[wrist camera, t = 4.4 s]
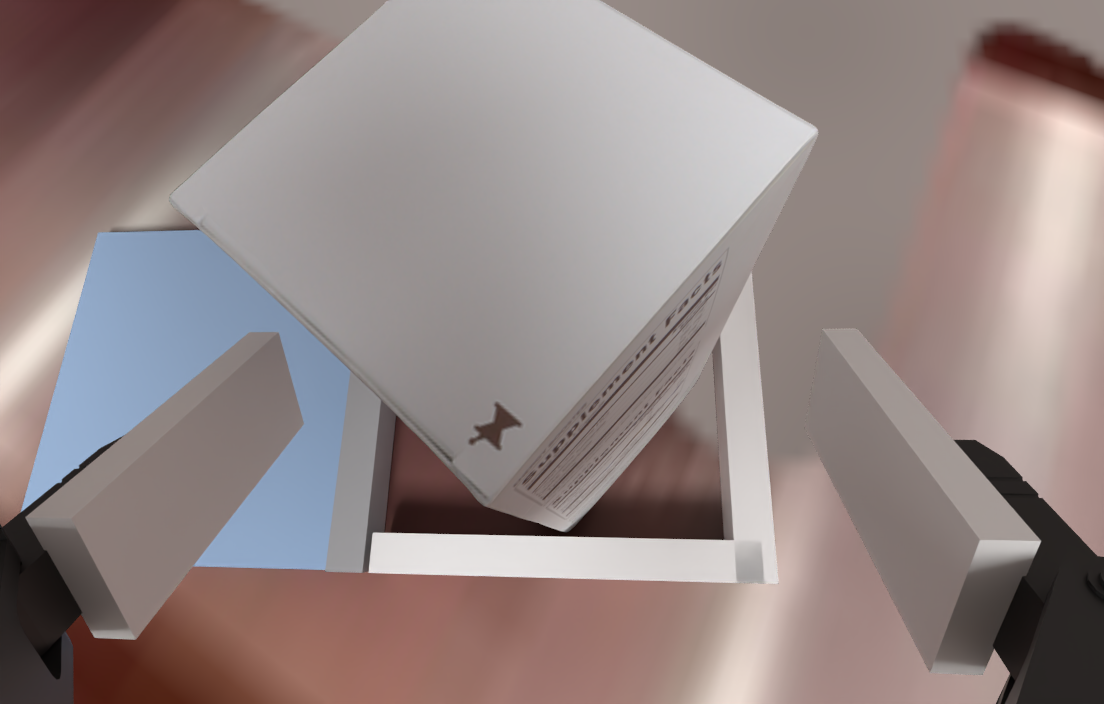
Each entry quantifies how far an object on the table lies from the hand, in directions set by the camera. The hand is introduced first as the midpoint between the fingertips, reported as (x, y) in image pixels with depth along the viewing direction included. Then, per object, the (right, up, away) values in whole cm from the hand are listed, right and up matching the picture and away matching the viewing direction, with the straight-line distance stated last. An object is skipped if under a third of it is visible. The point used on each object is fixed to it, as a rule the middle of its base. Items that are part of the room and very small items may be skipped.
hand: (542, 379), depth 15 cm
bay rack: (-8, -1, +13) cm, 15 cm away
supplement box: (0, -1, +13) cm, 13 cm away
